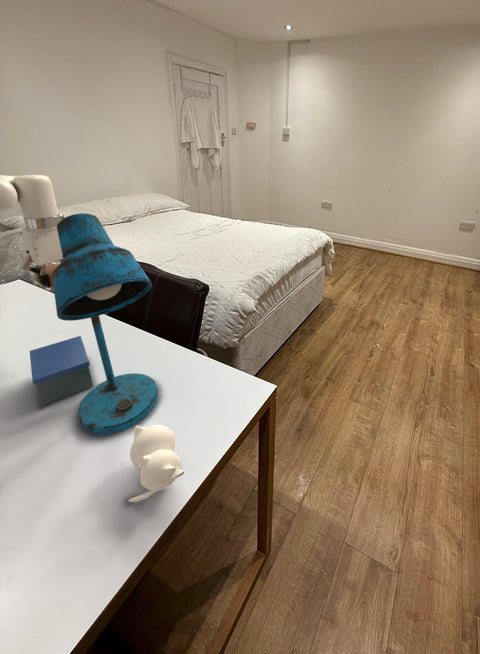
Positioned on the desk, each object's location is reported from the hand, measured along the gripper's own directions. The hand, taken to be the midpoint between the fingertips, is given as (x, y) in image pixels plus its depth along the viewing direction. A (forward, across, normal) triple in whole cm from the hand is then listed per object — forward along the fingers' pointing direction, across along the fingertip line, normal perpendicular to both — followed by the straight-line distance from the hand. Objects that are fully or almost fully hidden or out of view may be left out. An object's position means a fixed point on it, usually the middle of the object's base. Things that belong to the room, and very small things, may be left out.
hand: (57, 281), depth 93 cm
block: (0, 0, 0) cm, 0 cm away
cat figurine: (+17, +19, +58) cm, 64 cm away
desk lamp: (+17, +12, +40) cm, 45 cm away
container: (+17, +13, +20) cm, 29 cm away
